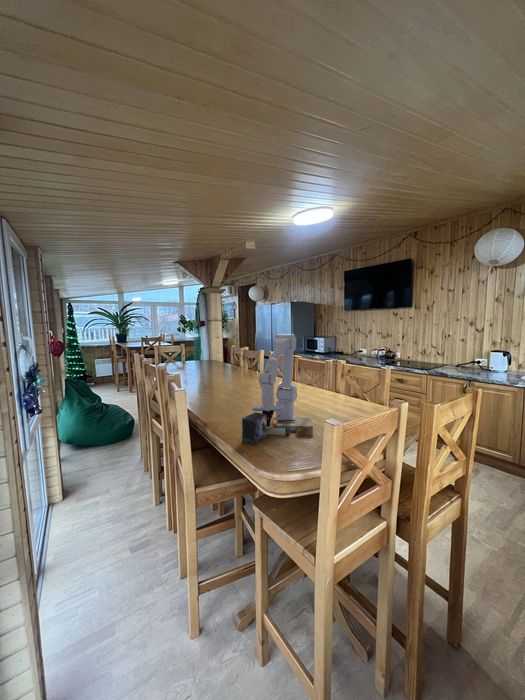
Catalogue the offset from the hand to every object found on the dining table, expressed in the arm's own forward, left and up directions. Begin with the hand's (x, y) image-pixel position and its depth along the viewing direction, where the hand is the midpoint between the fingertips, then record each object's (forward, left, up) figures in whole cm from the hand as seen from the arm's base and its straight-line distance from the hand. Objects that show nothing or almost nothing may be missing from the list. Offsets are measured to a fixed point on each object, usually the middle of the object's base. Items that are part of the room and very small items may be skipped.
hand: (268, 426), depth 144 cm
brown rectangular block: (+8, 0, -2) cm, 8 cm away
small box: (-5, -12, -2) cm, 13 cm away
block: (+17, 0, -2) cm, 17 cm away
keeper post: (+9, -6, -2) cm, 11 cm away
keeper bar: (+4, -6, -1) cm, 7 cm away
